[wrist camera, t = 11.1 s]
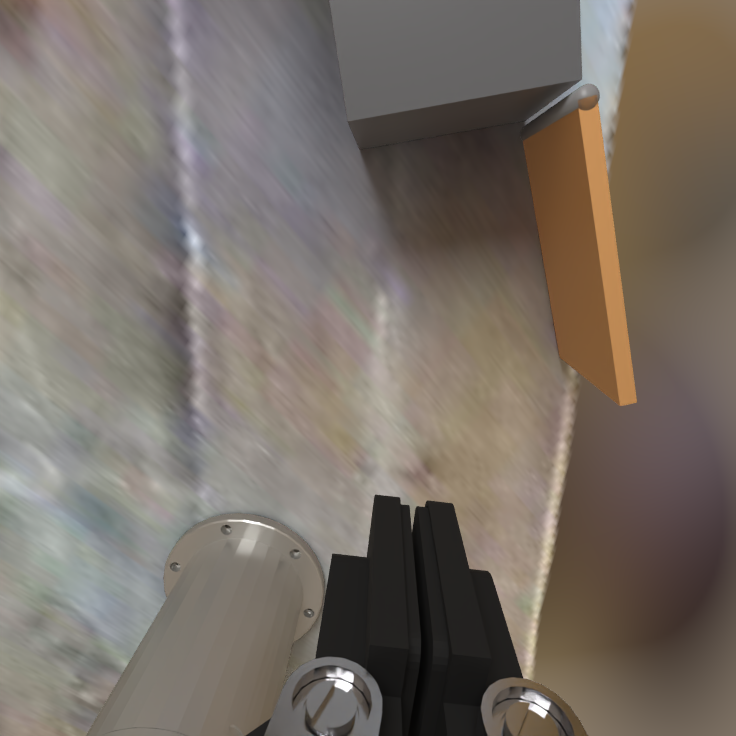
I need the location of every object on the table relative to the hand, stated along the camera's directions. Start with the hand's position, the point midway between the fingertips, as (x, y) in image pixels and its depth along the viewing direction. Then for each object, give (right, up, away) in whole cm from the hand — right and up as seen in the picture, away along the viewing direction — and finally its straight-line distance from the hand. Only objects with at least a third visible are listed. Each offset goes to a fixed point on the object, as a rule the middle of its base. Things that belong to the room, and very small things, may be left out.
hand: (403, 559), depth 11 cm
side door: (+11, +12, +20) cm, 26 cm away
